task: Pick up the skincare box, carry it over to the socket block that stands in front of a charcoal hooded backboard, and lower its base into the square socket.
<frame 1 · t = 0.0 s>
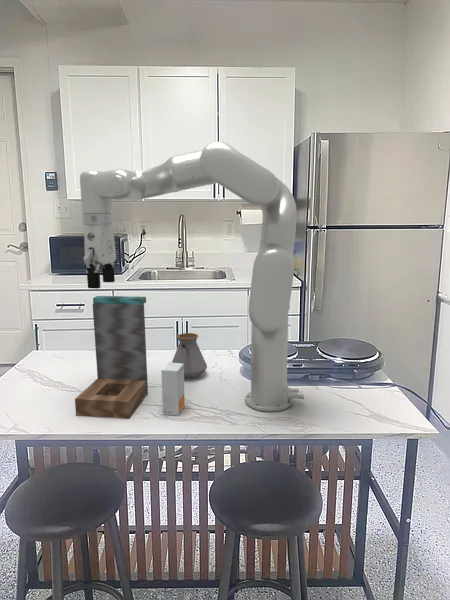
hand: (101, 285, 121), 31 cm above the counter, fingers open, 9 cm apart
socket station: (112, 405, 120), on the counter
skincare box: (174, 411, 117), on the counter
coffee pot: (187, 381, 136), on the counter
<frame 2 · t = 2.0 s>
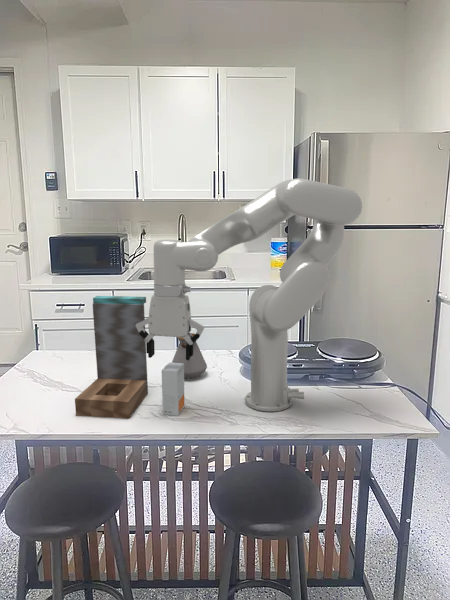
hand: (169, 357, 114), 14 cm above the counter, fingers open, 9 cm apart
nothing on the counter moved.
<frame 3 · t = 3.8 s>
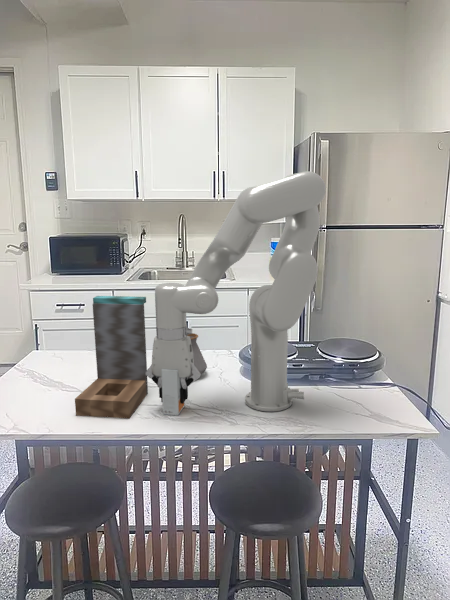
hand: (173, 400, 116), 3 cm above the counter, fingers closed on skincare box, 4 cm apart
skincare box: (174, 410, 117), on the counter, touching gripper
everything else where it was.
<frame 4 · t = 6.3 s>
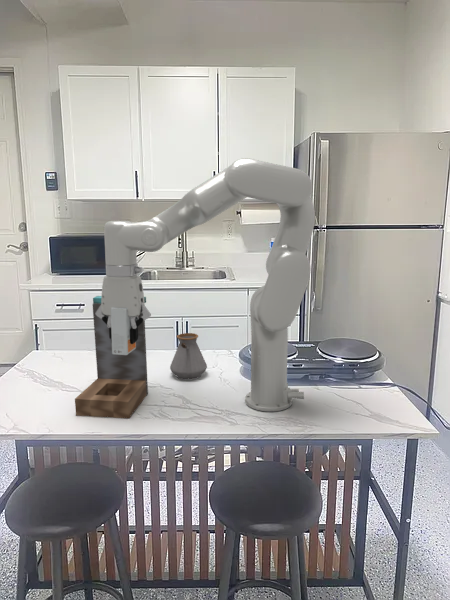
hand: (124, 341, 116), 18 cm above the counter, fingers closed on skincare box, 4 cm apart
skincare box: (124, 352, 116), point 15 cm above the counter, touching gripper
everything else where it was.
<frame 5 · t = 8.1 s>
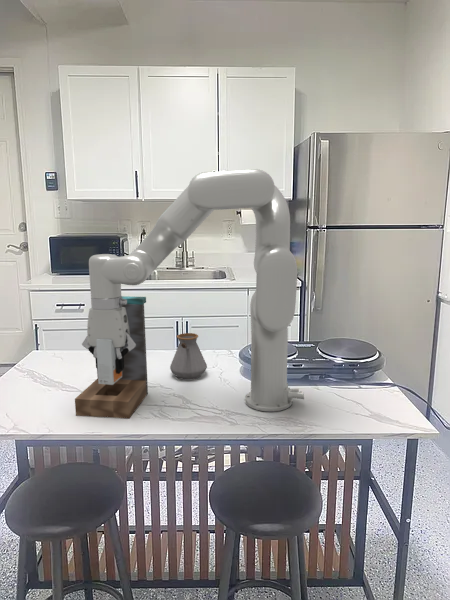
hand: (110, 370, 118), 10 cm above the counter, fingers closed on skincare box, 4 cm apart
skincare box: (111, 381, 119), point 7 cm above the counter, touching gripper
everything else where it was.
when the fingers open (5 cm above the counter, at t = 9.3 s): skincare box drops 2 cm, resting in socket station.
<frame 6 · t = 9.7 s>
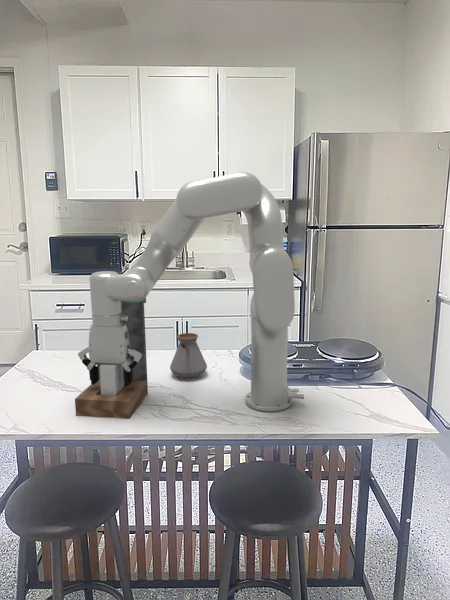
hand: (111, 383, 119), 6 cm above the counter, fingers open, 8 cm apart
skincare box: (113, 406, 120), resting in socket station
everything else where it was.
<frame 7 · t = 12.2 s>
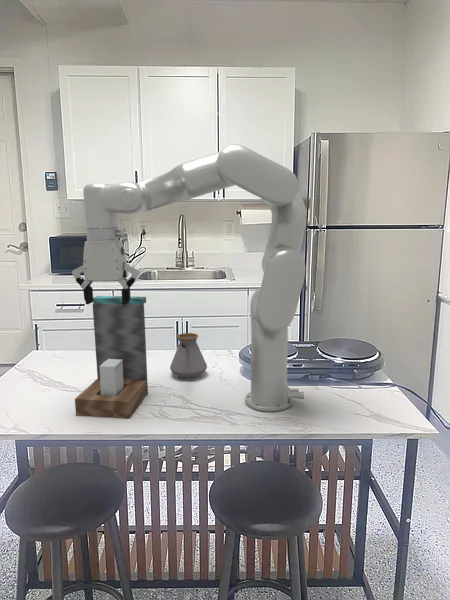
hand: (107, 303, 115), 28 cm above the counter, fingers open, 9 cm apart
nothing on the counter moved.
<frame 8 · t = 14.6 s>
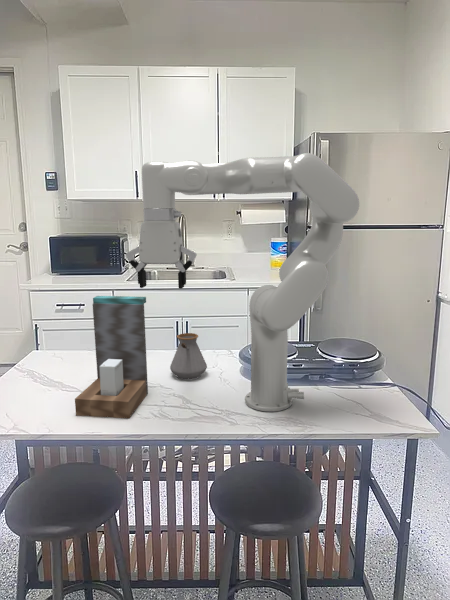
hand: (162, 287, 111), 32 cm above the counter, fingers open, 9 cm apart
nothing on the counter moved.
at the end: skincare box 0.2 cm off-centre on the socket station, point 0.0 cm above the socket station's base; skincare box tilted 0°; the gripper is holding nothing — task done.
